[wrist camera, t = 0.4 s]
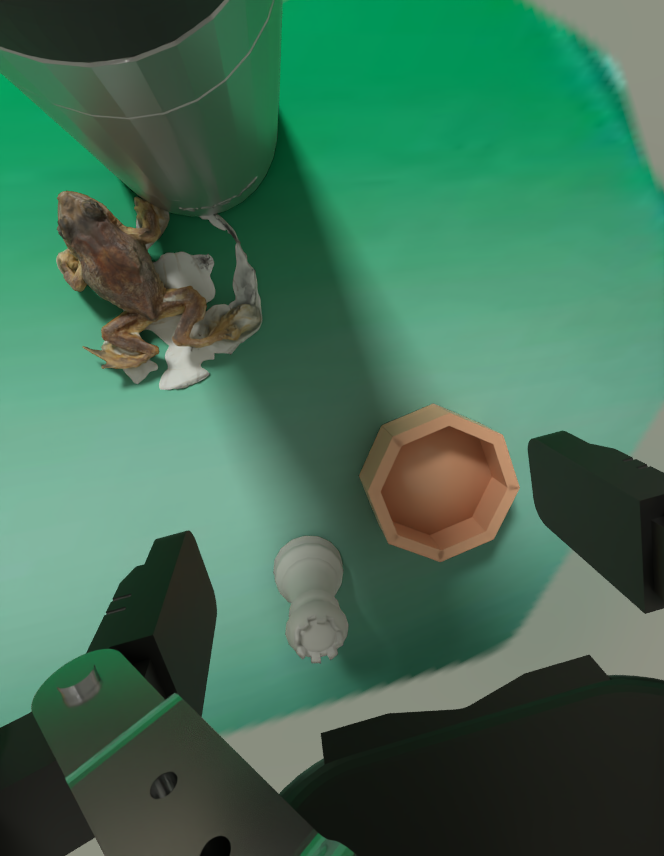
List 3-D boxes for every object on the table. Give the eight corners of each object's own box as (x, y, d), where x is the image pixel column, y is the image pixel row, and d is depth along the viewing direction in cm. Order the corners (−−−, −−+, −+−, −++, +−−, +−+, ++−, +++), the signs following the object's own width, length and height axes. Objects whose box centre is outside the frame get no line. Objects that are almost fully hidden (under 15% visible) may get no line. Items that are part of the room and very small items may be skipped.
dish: (344, 440, 31) (351, 453, 28) (470, 388, 31) (490, 395, 29) (391, 555, 33) (402, 578, 30) (508, 505, 34) (531, 523, 31)
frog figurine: (-11, 267, 27) (-55, 260, 24) (165, 132, 27) (148, 104, 23) (132, 432, 30) (112, 448, 26) (293, 312, 30) (296, 312, 26)
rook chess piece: (260, 553, 32) (256, 628, 24) (322, 520, 32) (338, 585, 24) (293, 606, 33) (300, 694, 26) (353, 574, 33) (378, 653, 26)
